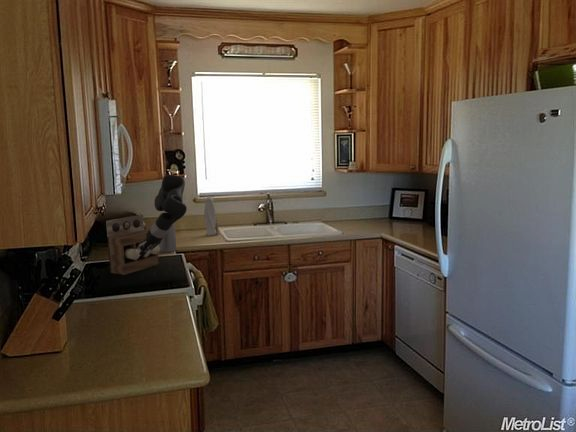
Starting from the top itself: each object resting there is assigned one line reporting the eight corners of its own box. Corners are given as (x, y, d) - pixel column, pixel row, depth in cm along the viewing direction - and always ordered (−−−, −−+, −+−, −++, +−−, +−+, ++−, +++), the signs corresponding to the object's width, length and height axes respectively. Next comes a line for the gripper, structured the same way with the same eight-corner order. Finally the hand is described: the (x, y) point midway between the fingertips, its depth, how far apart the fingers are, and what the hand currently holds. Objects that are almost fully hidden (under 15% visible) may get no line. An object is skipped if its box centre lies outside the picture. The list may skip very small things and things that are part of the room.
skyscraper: (208, 236, 339) (205, 195, 335) (203, 235, 346) (200, 195, 342) (219, 235, 344) (217, 194, 340) (214, 233, 350) (212, 194, 346)
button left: (122, 259, 244) (121, 249, 243) (130, 257, 248) (129, 247, 247) (132, 260, 240) (131, 250, 240) (140, 258, 244) (139, 248, 244)
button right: (143, 253, 255) (142, 244, 254) (150, 251, 259) (149, 242, 258) (152, 255, 251) (152, 245, 251) (160, 253, 256) (159, 243, 255)
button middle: (132, 256, 249) (132, 246, 249) (140, 254, 254) (139, 244, 253) (142, 257, 246) (142, 247, 245) (150, 255, 250) (149, 245, 249)
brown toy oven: (110, 272, 247) (105, 220, 243) (145, 262, 266) (141, 214, 262) (123, 274, 241) (119, 221, 238) (158, 264, 261) (155, 215, 257)
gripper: (163, 223, 238) (147, 246, 247) (142, 227, 227) (126, 251, 235) (172, 235, 236) (156, 258, 244) (151, 240, 225) (134, 263, 233)
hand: (141, 255), depth 240 cm, fingers closed
